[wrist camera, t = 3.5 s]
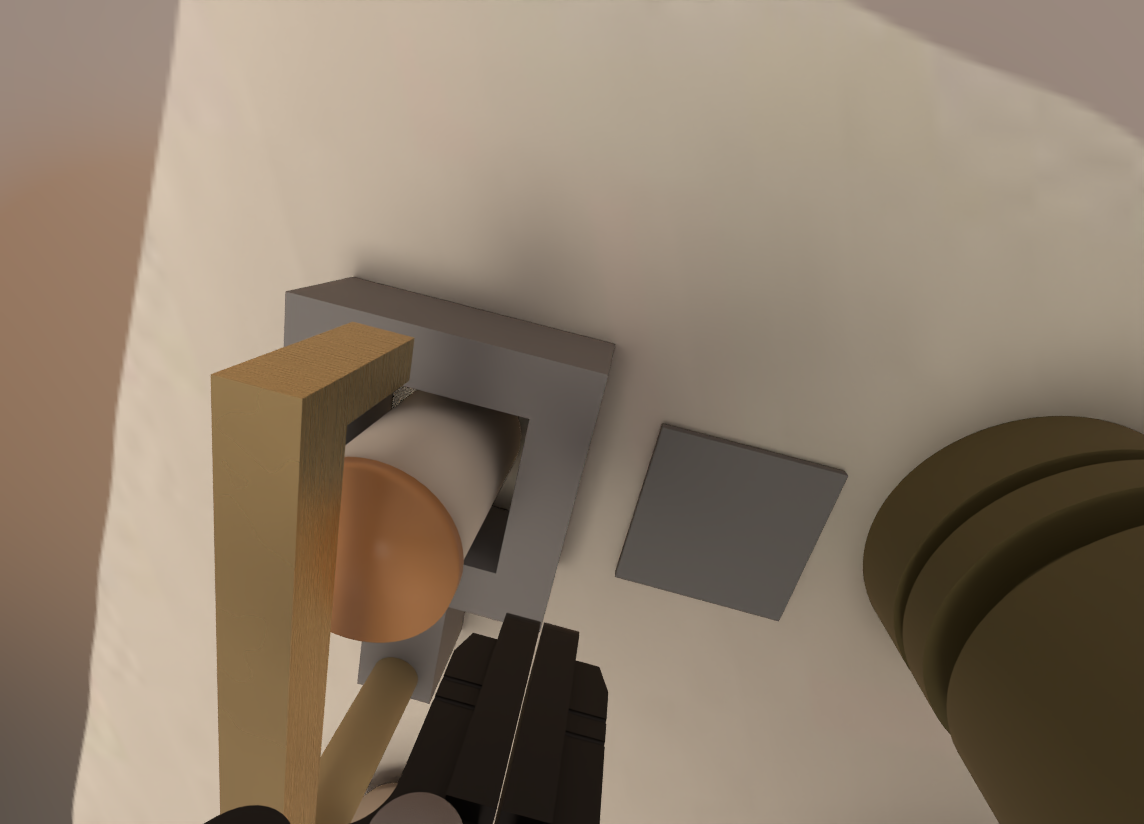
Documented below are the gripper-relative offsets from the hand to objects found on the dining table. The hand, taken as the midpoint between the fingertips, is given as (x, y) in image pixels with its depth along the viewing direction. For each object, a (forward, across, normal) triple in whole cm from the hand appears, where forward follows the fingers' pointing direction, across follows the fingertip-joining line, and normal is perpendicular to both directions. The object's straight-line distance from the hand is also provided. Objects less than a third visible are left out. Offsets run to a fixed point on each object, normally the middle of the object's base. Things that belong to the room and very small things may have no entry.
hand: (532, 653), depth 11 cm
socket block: (+11, +5, +4) cm, 13 cm away
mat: (+11, -6, +2) cm, 13 cm away
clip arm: (+3, +5, +3) cm, 6 cm away
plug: (+11, +5, +1) cm, 12 cm away
